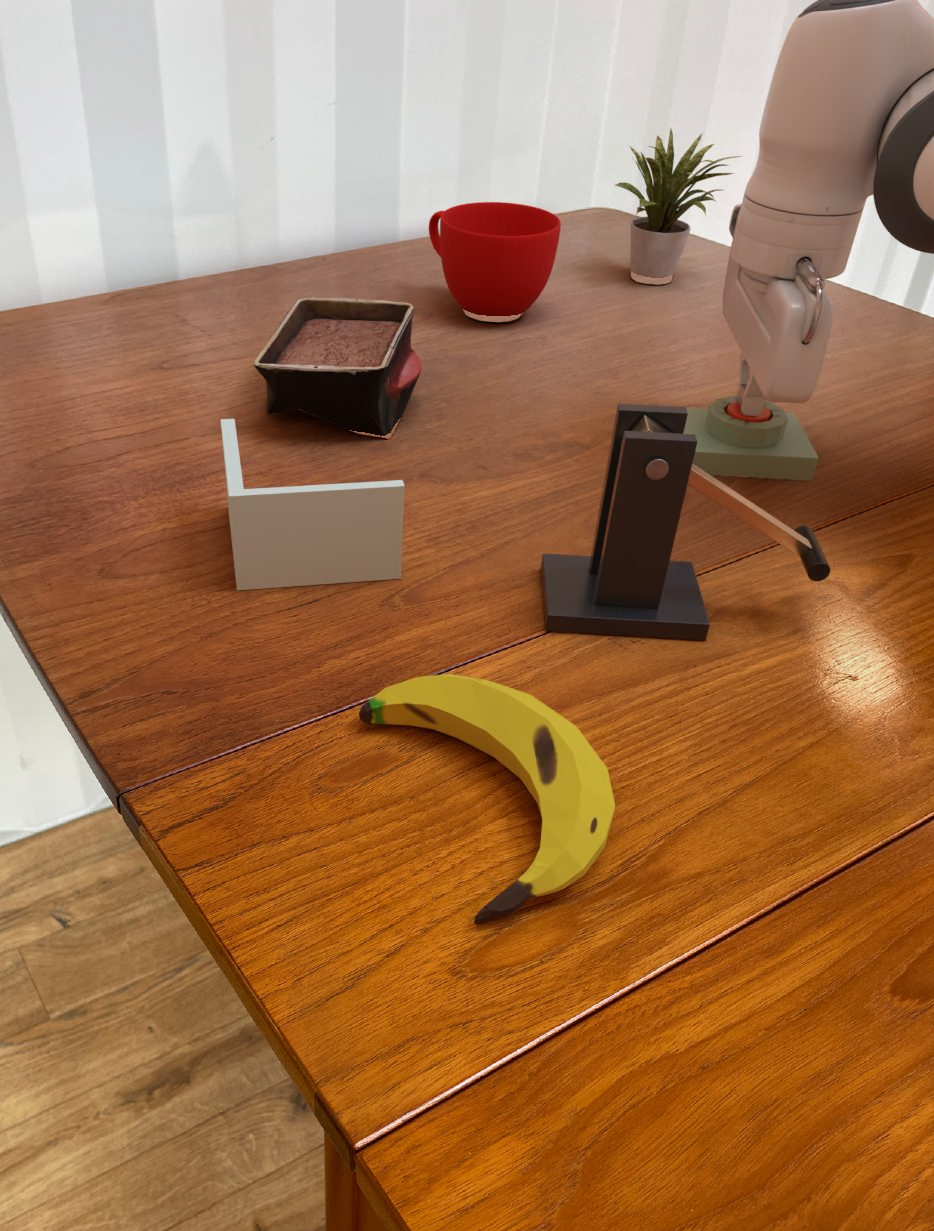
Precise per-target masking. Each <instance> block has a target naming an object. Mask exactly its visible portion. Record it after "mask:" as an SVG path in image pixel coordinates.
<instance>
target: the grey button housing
mask: <svg viewBox="0 0 934 1231" xmlns="http://www.w3.org/2000/svg"><path fill="white" fill-rule="evenodd" d="M735 397H736V395H730V396H725V397H721V398H717V399H715V400H714V401H713V402H712V403H711V404H710V405H709V406H708V408H705V407H688V406H687V407H686V406H685V407H686V410H687V413H688V415H687V420H686V424H685V429H684V433H683V434H695V436H696V439H697V446H696V450H695V455H694V459H693V464H694V465H696V466H697V467H699V468H700V469H702V470H703V471H705V472H706V473H708V474H709V475H717V476H716V477H728V476H745V477H744V478H747V477H753V478H752V479H755V478H754V477H757V478H756V479H765V478H768V479H767V480H769V479H770V480H785V479H788V480H787V481H803V482H805V481H806V482H812V481H813V477H814V475H815V471H816V469H817V465H818V462H819V459H820V457H819V456H818V453H817V452H816V450H815V449H814V447H813V445H812V443H811V441H810V439H809V437H808V435H807V434H806V432H805V429H804V428H803V426H802V424H801V422H800V420H799V418H798V416H797V415H796V413H795V412H786V411H785V409H784V408H782V407H780V406H778V405H777V404H775V403H774V402H772V401H768V400H766V402H765V405H764V406H765V407H767V408H768V409H769V410H770V417H769V420H768V421H765V422H761V423H758V422H745V421H742V420H738V419H734V418H732V417H731V416H729V415H728V414H726V412H727V408H728V406H729V404H731V403H733V402H737V401H736V398H735ZM718 475H720V476H718ZM746 476H747V477H746ZM785 481H786V480H785Z"/></svg>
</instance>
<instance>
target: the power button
mask: <svg viewBox="0 0 934 1231" xmlns="http://www.w3.org/2000/svg"><path fill="white" fill-rule="evenodd" d="M726 414H728V415H729V416H731V417H732V418H734V419H738V420H742V421H745V422H758V423H761V422H765V421H768V420H769V417H770V410H769V409H768V408H767V407H765V406H764V409H763V412H762V414H761V415H759V416H745V415H743V414H742V412H741V410H740V407H739V405H738V402H733V403H731V404H729V406H728V408H727V412H726Z"/></svg>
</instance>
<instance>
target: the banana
mask: <svg viewBox="0 0 934 1231" xmlns="http://www.w3.org/2000/svg"><path fill="white" fill-rule="evenodd" d="M358 716H359V720H360V721H362V722H363V723H364V724H366V725H368V726H370V725H373V724H378V725H379V724H380V725H395V726H396V725H398V726H411V727H418V728H422V729H423V728H424V729H431V730H434V731H437V732H439V733H443V734H445V735H448V736H451V737H452V738H456V739H458V740H460V741H462V742H464V743H466V744H468V745H470V746H471V747H474V748H475V749H478V750H479V751H482V752H484V753H485V754H487V755H489V756H491V757H493V758H494V759H496V760H497V761H498V762H499V763H500V764H502V765H503V766H504V767H505V768H507V769H508V771H510V772H511V773H512V774H514V775H515V776H516V777H517V778H519V779H520V781H521V782H522V783H523V784H524V786H525V788H526V789H527V790H528V792H529V794H530V795H531V796H532V798H533V799H534V801H535V802H536V803H537V804H536V805H537V806H538V811H539V812H540V816H541V821H542V822H541V831H540V832H541V833H540V834H541V835H540V843H539V844H540V845H539V849H538V851H537V853H536V856H535V858H534V860H533V861H532V862H531V864H530V866H529V867H528V868H527V870H526V871H525V872H524V873H522V875H521V876H519V878H517V879H516V880H515V881H513V882H512V883H511V884H510V885H509V886H507V887H506V888H504V889H503V890H502V891H501V892H499V893H498V894H497V895H496V896H495V897H493V898H492V899H491V900H490V901H488V903H486V904H485V905H484V906H483V907H482V908H481V909H480V910H479V911H478V912H477V913H476V914H475V917H474V921H473V923H474V925H477V926H478V925H479V926H480V925H483V924H486V923H488V922H493V921H498V920H500V919H503V918H505V917H507V916H510V915H512V914H514V913H515V912H516V911H518V910H519V909H520V908H521V907H523V906H524V905H525V904H526V902H528V901H529V900H530V899H532V898H537V897H544V896H547V895H551V894H554V893H557V892H559V891H562V890H564V889H566V888H567V887H569V886H571V885H572V884H573V883H575V882H577V881H578V880H580V879H581V878H582V877H584V876H585V875H586V873H587V872H588V871H589V870H590V868H591V867H592V866H593V865H594V863H595V862H596V860H597V859H598V858H599V856H600V855H601V853H602V852H603V851H604V850H605V848H606V845H607V842H608V837H609V833H610V830H611V826H612V824H613V823H612V822H613V819H614V814H615V809H616V803H615V802H616V801H615V798H614V793H613V788H612V784H611V778H610V774H609V769H608V767H607V766H606V764H605V763H604V762H603V761H602V760H603V759H601V757H600V756H599V755H598V753H597V752H596V751H595V749H594V748H593V746H592V745H591V744H590V742H589V741H588V740H587V739H586V737H585V736H584V734H583V733H582V732H581V729H579V728H578V726H577V725H575V724H574V723H572V722H571V721H570V720H569V719H567V718H565V717H564V716H562V715H561V714H559V713H558V712H557V711H555V710H554V709H552V708H551V707H550V706H548V705H546V704H545V703H544V702H542V701H541V700H539V699H538V698H536V697H535V696H533V695H532V694H530V693H527V692H524V691H521V690H519V689H515V688H512V687H509V686H506V685H504V684H502V683H497V682H495V681H491V680H490V679H489V680H488V679H484V678H477V677H471V676H465V675H461V674H460V675H459V674H453V673H445V674H436V675H435V674H434V675H425V676H424V675H423V676H416V677H414V678H411V679H407V680H405V681H402V682H398V683H396V684H393V685H389V686H387V687H384V688H383V689H381V690H380V691H379V692H378V693H376V694H375V695H374V696H372V697H371V698H370V699H369V700H367V701H366V702H365V703H364V704H363V705H361V707H360V709H359V711H358Z"/></svg>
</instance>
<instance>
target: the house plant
mask: <svg viewBox="0 0 934 1231" xmlns="http://www.w3.org/2000/svg"><path fill="white" fill-rule="evenodd" d="M703 134H704V132H702V133H701V134H700V135H698V137H697V138H696V139H695V140H694V141H693V142H692V144H691V145H690V146H689V148H688V149H687V150H686V151H685V153H684V154H683V155H682V156H681V157H680V159H679V161H678V162H677V164H676V166H675V168H674V163H675V148H674V134H673V130H672V128H670V129H669V134H668V142H667V148H666V149H667V150H666V149H665V146H664V142H663V139H662V138H661V137H660V136H659V135H657V136H656V139H655V145H654V146H651V145H648V148H653V149H654V158H652V157H645V155H644V154H643V153H642V151H639V152H638V151H637V150H636V149H634V148H633V147H632V146H630V145H628V147H629V148H630V150H631V152H632V153H633V155H634V156H635V158H636V160H635V159H634V157H633V156H631V157H632V159H633V161H634V162H635V164H636V166H637V168H638V170H639V172H640V174H641V176H642V178H643V181H644V183H645V186H646V187H645V192H646V195H647V198H648V199H646V198H645V196H644V195H643V194H642V193H641V191H640V190H639V189H638V188H637V187H635V186H634V185H633V184H631V183H629V182H624V181H623V182H618V183H615V184H614V185H613V187H614V186H616V187H619V188H622V189H625V191H628V192H630V193H632V194H633V195H635V196H636V197H637V198H638V199H639V206H638V207H637V209H636V214H635V216H637V215H638V214H639V213H641V212H644V211H645V213H646V216H640V217H636V218H634V219H632V220H631V221H630V264H629V265H630V266H629V267H630V268H629V269H631V272H633V273H635V274H637V275H641V276H645V277H651V278H664V277H668V276H671V275H673V274H674V273H675V274H676V270H677V268H678V265H679V264H680V260H681V257H682V254H683V251H684V249H685V245H686V243H687V240H688V237H689V235H690V231H691V225H690V224H689V223H688V222H685V221H684V220H680V219H679V218H680V217H681V216H682V215H684V214H685V213H686V212H687V211H688V210H689V209H690V208H691V207H693V206H696V207H698V209H701V210H702V212H703V213H704V215H705V216H704V217H707V210H706V208H707V207H706V206H705V205H704V204H703V203H702V202H705V201H706V202H707V201H713V202H716V203H718V201H716V200H715V197H714V196H713V194H712V193H714V192H718V191H719V192H720V191H721V192H722V191H723V189H720V188H716V189H711V190H708V191H705V190H703V189H699V188H697V189H692V188H693V187H694V186H695V185H696V184H697V183H699V182H701V181H705V180H708V179H711V178H714V177H720V176H721V177H722V176H729V175H734V174H735V173H734V172H711V171H712V170H714V169H716V168H719V167H727V166H729V167H730V166H731V165H730V164H724V163H721V164H717V163H719V162H722V161H725V160H729V159H736V158H741V157H743V155H737V156H736V155H735V156H727V157H722V158H718V159H716V160H711V159H704V160H703V158H704V157H705V154H706V153H707V152H708V151H709V150H710V149H711V148H712V147H713V146H714V145H715V143H712V144H709V145H706V146H704V147H702V148H701V149H700V150H698V151H697V152H696V153H695V150H696V148H697V147H698V145H699V143H700V142H701V141H702V140H701V139H702V136H703ZM694 153H695V154H694ZM705 162H707V163H708V164H706V165H704V166H703V167H701V168H700V169H699V170H697V171H696V172H695V173H693V172H694V171H695V170H696V169H697V168H698V166H699V165H700V164H701V163H705ZM709 172H710V173H709ZM700 173H701V174H700ZM691 175H692V176H691ZM690 176H691V177H690ZM686 189H687V190H686ZM691 189H692V190H691ZM685 190H686V191H685ZM684 191H685V192H684ZM683 192H684V193H683ZM699 193H701V195H699V196H696V197H693V198H691V199H688V198H690V197H691V196H693V195H696V194H699ZM702 193H703V194H702ZM682 194H683V195H682ZM681 195H682V196H681ZM708 195H709V196H708ZM687 199H688V200H687ZM686 200H687V201H686ZM685 201H686V202H685ZM683 202H684V203H683ZM675 274H674V275H675Z"/></svg>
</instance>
